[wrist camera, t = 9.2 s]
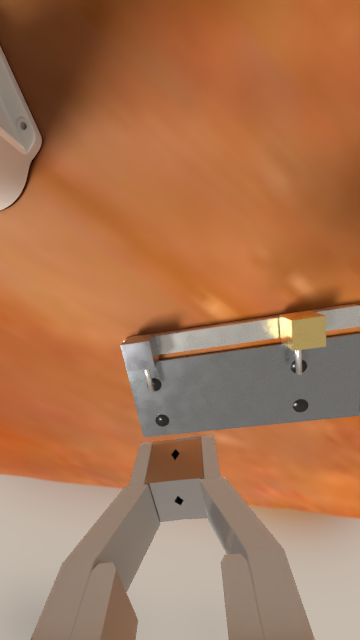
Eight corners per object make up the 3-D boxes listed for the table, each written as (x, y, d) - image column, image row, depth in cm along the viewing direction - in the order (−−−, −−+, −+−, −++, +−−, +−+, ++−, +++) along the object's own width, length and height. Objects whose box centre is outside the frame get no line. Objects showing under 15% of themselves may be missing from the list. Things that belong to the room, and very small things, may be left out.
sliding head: (278, 314, 27) (291, 320, 24) (309, 310, 27) (325, 315, 24) (282, 372, 29) (294, 385, 26) (310, 369, 29) (326, 382, 26)
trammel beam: (125, 334, 31) (113, 346, 27) (352, 300, 28) (385, 306, 23) (137, 384, 33) (128, 403, 29) (351, 357, 30) (381, 374, 25)
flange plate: (126, 364, 33) (125, 366, 32) (358, 332, 29) (362, 333, 28) (144, 434, 36) (143, 437, 35) (356, 413, 32) (359, 415, 32)
